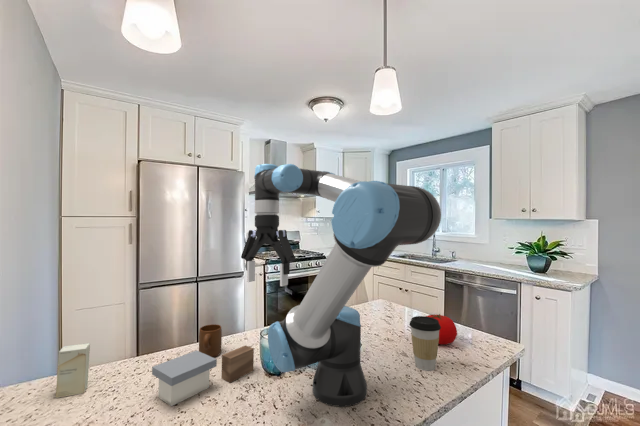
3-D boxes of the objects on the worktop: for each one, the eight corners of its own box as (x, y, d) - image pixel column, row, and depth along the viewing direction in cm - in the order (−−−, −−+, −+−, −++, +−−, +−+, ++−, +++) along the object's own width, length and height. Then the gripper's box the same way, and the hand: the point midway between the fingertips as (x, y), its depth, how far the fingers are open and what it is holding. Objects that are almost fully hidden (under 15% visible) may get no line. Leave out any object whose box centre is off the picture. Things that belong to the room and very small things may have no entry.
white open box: (209, 387, 85) (209, 365, 86) (171, 406, 77) (171, 382, 77) (196, 380, 89) (196, 359, 89) (158, 397, 80) (158, 374, 81)
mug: (217, 364, 100) (217, 335, 100) (192, 365, 98) (193, 336, 99) (222, 349, 111) (223, 323, 112) (201, 350, 110) (201, 324, 110)
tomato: (464, 344, 117) (464, 317, 117) (445, 352, 110) (444, 323, 110) (432, 333, 129) (432, 308, 129) (413, 339, 122) (412, 313, 122)
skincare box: (55, 399, 80) (56, 352, 80) (61, 390, 84) (62, 346, 84) (84, 393, 82) (86, 348, 83) (89, 385, 86) (90, 342, 87)
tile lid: (216, 366, 85) (216, 359, 86) (171, 386, 75) (171, 378, 75) (196, 357, 91) (196, 350, 91) (152, 374, 81) (152, 366, 81)
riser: (253, 370, 95) (253, 348, 95) (229, 382, 88) (230, 358, 88) (245, 367, 98) (245, 345, 98) (221, 378, 90) (221, 355, 90)
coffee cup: (442, 362, 101) (441, 317, 102) (440, 376, 92) (440, 326, 93) (411, 357, 105) (411, 314, 106) (407, 369, 96) (407, 322, 97)
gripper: (306, 213, 90) (307, 285, 89) (247, 216, 104) (247, 278, 103) (291, 212, 84) (291, 289, 83) (230, 215, 97) (229, 281, 96)
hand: (266, 283), depth 93 cm, fingers open, 13 cm apart
